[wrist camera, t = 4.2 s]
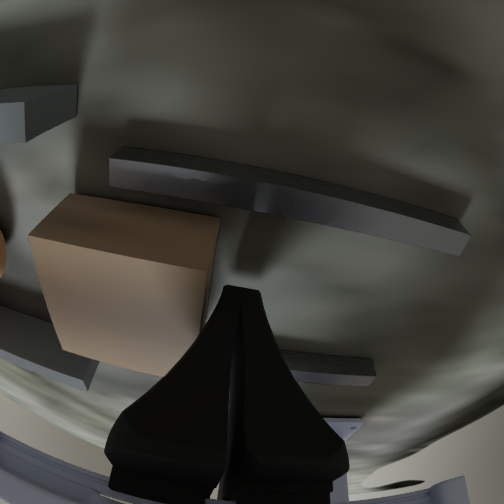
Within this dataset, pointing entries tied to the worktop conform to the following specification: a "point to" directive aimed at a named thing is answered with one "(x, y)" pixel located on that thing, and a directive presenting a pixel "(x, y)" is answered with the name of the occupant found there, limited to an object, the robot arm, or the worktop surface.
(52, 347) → the tray
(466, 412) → the worktop surface
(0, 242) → the ball
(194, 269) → the brown square block
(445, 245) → the rails
